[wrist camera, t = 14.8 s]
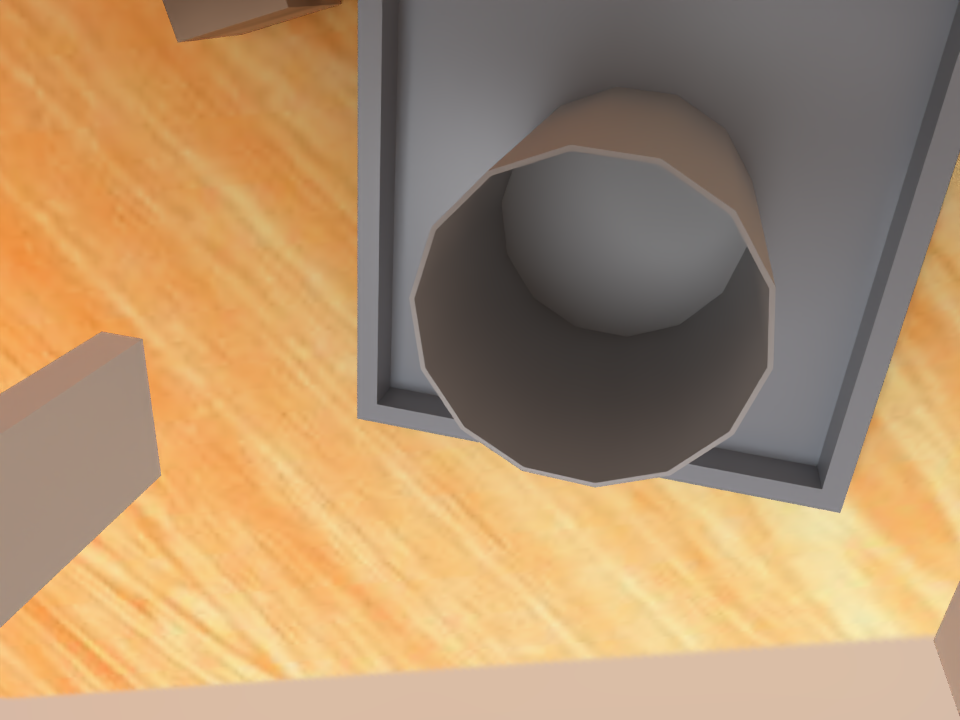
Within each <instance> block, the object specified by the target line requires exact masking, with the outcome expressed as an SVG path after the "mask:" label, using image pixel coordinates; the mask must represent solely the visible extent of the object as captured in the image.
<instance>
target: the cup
mask: <svg viewBox="0 0 960 720" xmlns="http://www.w3.org/2000/svg"><path fill="white" fill-rule="evenodd" d="M775 292H776V287H775V282H774V278H773V273H772V269H771V264H770V260H769V255H768V251H767V246H766V242H765V237H764V233H763V228H762V223H761V219H760V214H759V210H758V205H757V201H756V196H755V192H754V187H753V183H752V180H751V178H750V176H749V174H748V172H747V170H746V168H745V166H744V164H743V162H742V160H741V158H740V156H739V154H738V152H737V150H736V149H735V147H734V145H733V143H732V141H731V139H730V137H729V135H728V133H727V131H726V129H725V128H723V127H722V126H720V125H719V124H717V123H716V122H715V121H713V120H712V119H710V118H709V117H708V116H706V115H705V114H703V113H702V112H700V111H699V110H698V109H696V108H695V107H693V106H692V105H690V104H689V103H688V102H686V101H685V100H683V99H682V98H680V97H679V96H678V95H674V94H667V93H659V92H652V91H645V90H638V89H630V88H623V87H614V88H612V89H609V90H606V91H603V92H600V93H597V94H594V95H591V96H588V97H585V98H582V99H579V100H576V101H573V102H570V103H567V104H564V105H561V106H560V107H559V108H558V109H556V110H555V111H554V112H553V113H552V114H551V115H550V116H549V117H547V118H546V119H545V120H544V121H543V122H542V123H541V124H540V125H539V126H537V127H536V128H535V129H534V130H533V131H532V132H531V133H530V134H528V135H527V136H526V137H525V138H524V139H523V140H522V141H521V142H519V143H518V144H517V145H516V146H515V147H514V148H513V149H512V150H511V151H509V152H508V153H507V154H506V155H505V156H504V157H503V158H502V159H500V160H499V161H498V162H497V163H496V164H495V165H494V166H493V167H491V168H490V169H489V170H488V171H487V172H486V173H485V174H484V175H483V176H482V177H481V178H480V179H479V180H478V181H477V182H476V183H475V184H474V185H473V186H472V187H471V188H470V189H469V190H468V191H467V192H466V193H465V194H464V195H463V196H462V197H461V198H460V199H459V200H458V201H457V202H456V203H455V204H454V205H453V206H452V207H451V208H450V209H449V210H448V211H447V212H446V213H445V214H444V215H443V216H442V217H441V218H440V219H439V220H438V221H437V222H436V223H435V224H434V225H433V226H432V227H431V230H430V233H429V236H428V239H427V242H426V246H425V249H424V252H423V255H422V258H421V262H420V265H419V268H418V271H417V274H416V278H415V281H414V284H413V287H412V290H411V294H410V297H409V300H410V306H411V312H412V318H413V324H414V331H415V337H416V343H417V349H418V355H419V361H420V367H421V370H422V372H423V373H424V375H425V376H426V378H427V379H428V381H429V382H430V384H431V385H432V387H433V388H434V390H435V391H436V393H437V394H438V396H439V397H440V399H441V400H442V402H443V403H444V405H445V406H446V408H447V409H448V411H449V412H450V414H451V415H452V417H453V418H454V420H455V421H456V423H457V424H458V426H459V427H460V429H461V430H463V431H464V432H466V433H467V434H469V435H470V436H471V437H473V438H474V439H476V440H477V441H479V442H480V443H482V444H483V445H485V446H486V447H488V448H489V449H491V450H492V451H494V452H495V453H497V454H498V455H500V456H501V457H503V458H504V459H505V460H507V461H508V462H510V463H511V464H513V465H514V466H516V467H517V468H519V469H520V470H522V471H525V472H530V473H534V474H539V475H543V476H547V477H552V478H556V479H561V480H565V481H570V482H574V483H578V484H583V485H587V486H592V487H601V486H607V485H613V484H620V483H626V482H632V481H639V480H645V479H651V478H658V477H664V476H670V475H672V474H673V473H675V472H676V471H678V470H679V469H681V468H683V467H684V466H686V465H687V464H689V463H690V462H692V461H693V460H695V459H697V458H698V457H700V456H701V455H703V454H704V453H706V452H707V451H709V450H711V449H712V448H714V447H715V446H717V445H718V444H720V443H721V442H723V441H725V440H726V439H728V438H729V437H731V436H732V435H734V434H735V432H736V430H737V428H738V427H739V425H740V423H741V422H742V420H743V418H744V417H745V415H746V413H747V412H748V410H749V408H750V407H751V405H752V403H753V401H754V400H755V398H756V396H757V395H758V393H759V391H760V390H761V388H762V386H763V385H764V383H765V381H766V380H767V378H768V376H769V375H770V373H771V371H772V369H773V360H774V326H775Z"/></svg>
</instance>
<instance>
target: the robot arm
mask: <svg viewBox="0 0 960 720" xmlns="http://www.w3.org/2000/svg"><path fill="white" fill-rule="evenodd" d="M160 476H161V471H160V463H159V456H158V449H157V442H156V434H155V427H154V420H153V412H152V405H151V398H150V391H149V383H148V376H147V369H146V361H145V354H144V347H143V340H142V339H140V338H134V337H129V336H123V335H118V334H112V333H107V332H100V333H99V334H97V335H96V336H94V337H92V338H91V339H89V340H87V341H86V342H84V343H82V344H81V345H79V346H78V347H76V348H74V349H73V350H71V351H69V352H68V353H66V354H65V355H63V356H61V357H60V358H58V359H56V360H55V361H53V362H51V363H50V364H48V365H47V366H45V367H43V368H42V369H40V370H38V371H37V372H35V373H34V374H32V375H30V376H29V377H27V378H25V379H24V380H22V381H21V382H19V383H17V384H16V385H14V386H12V387H11V388H9V389H7V390H6V391H4V392H3V393H1V394H0V627H1V626H3V625H4V624H5V623H6V622H7V621H8V620H9V619H10V618H11V617H12V616H13V615H14V614H15V613H16V612H17V611H18V610H19V609H20V608H22V607H23V606H24V605H25V604H26V603H27V602H28V601H29V600H30V599H31V598H32V597H33V596H34V595H35V594H36V593H37V592H38V591H39V590H41V589H42V588H43V587H44V586H45V585H46V584H47V583H48V582H49V581H50V580H51V579H52V578H53V577H54V576H55V575H56V574H57V573H58V572H60V571H61V570H62V569H63V568H64V567H65V566H66V565H67V564H68V563H69V562H70V561H71V560H72V559H73V558H74V557H75V556H76V555H77V554H79V553H80V552H81V551H82V550H83V549H84V548H85V547H86V546H87V545H88V544H89V543H90V542H91V541H92V540H93V539H94V538H95V537H96V536H98V535H99V534H100V533H101V532H102V531H103V530H104V529H105V528H106V527H107V526H108V525H109V524H110V523H111V522H112V521H113V520H114V519H115V518H117V517H118V516H119V515H120V514H121V513H122V512H123V511H124V510H125V509H126V508H127V507H128V506H129V505H130V504H131V503H132V502H133V501H134V500H136V499H137V498H138V497H139V496H140V495H141V494H142V493H143V492H144V491H145V490H146V489H147V488H148V487H149V486H150V485H151V484H152V483H153V482H155V481H156V480H157V479H158V478H159V477H160ZM934 643H935V646H936V649H937V652H938V655H939V658H940V661H941V664H942V666H943V669H944V672H945V675H946V678H947V681H948V684H949V686H950V689H951V692H952V695H953V698H954V701H955V704H956V707H957V710H958V713H959V715H960V581H959V584H958V586H957V588H956V591H955V593H954V595H953V597H952V600H951V602H950V604H949V607H948V609H947V611H946V613H945V616H944V618H943V620H942V622H941V625H940V627H939V629H938V632H937V634H936V636H935V638H934Z"/></svg>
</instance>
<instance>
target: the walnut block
mask: <svg viewBox="0 0 960 720" xmlns="http://www.w3.org/2000/svg"><path fill="white" fill-rule="evenodd" d="M163 3H164V6H165V8H166V11H167V14H168V17H169V19H170V22H171V25H172V28H173V30H174V33H175V36H176V38H177V41H178V42H185V41H194V40H202V39H210V38H218V37H226V36H234V35H242V34H245V33H249V32H252V31H255V30H258V29H262V28H265V27H268V26H271V25H274V24H278V23H281V22H284V21H287V20H291V19H294V18H297V17H300V16H304V15H307V14H310V13H313V12H317V11H320V10H323V9H326V8H330V7H333V6H336V5H339V4H341V1H340V0H163Z"/></svg>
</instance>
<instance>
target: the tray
mask: <svg viewBox="0 0 960 720" xmlns="http://www.w3.org/2000/svg"><path fill="white" fill-rule="evenodd" d="M614 87H623V88H630V89H638V90H645V91H652V92H659V93H667V94H674V95H678V96H679V97H680V98H682V99H683V100H685V101H686V102H688V103H689V104H690V105H692V106H693V107H695V108H696V109H698V110H699V111H700V112H702V113H703V114H705V115H706V116H708V117H709V118H710V119H712V120H713V121H715V122H716V123H717V124H719V125H720V126H722V127H723V128H725V129H726V131H727V133H728V135H729V137H730V139H731V141H732V143H733V145H734V147H735V149H736V150H737V152H738V154H739V156H740V158H741V160H742V162H743V164H744V166H745V168H746V170H747V172H748V174H749V176H750V178H751V180H752V183H753V187H754V192H755V196H756V201H757V205H758V210H759V214H760V219H761V223H762V228H763V233H764V237H765V242H766V246H767V251H768V255H769V260H770V264H771V269H772V273H773V278H774V282H775V287H776V292H775V326H774V360H773V369H772V371H771V373H770V375H769V376H768V378H767V380H766V381H765V383H764V385H763V386H762V388H761V390H760V391H759V393H758V395H757V396H756V398H755V400H754V401H753V403H752V405H751V407H750V408H749V410H748V412H747V413H746V415H745V417H744V418H743V420H742V422H741V423H740V425H739V427H738V428H737V430H736V432H735V434H734V435H732V436H731V437H729V438H728V439H726V440H725V441H723V442H721V443H720V444H718V445H717V446H715V447H714V448H712V449H711V450H709V451H707V452H706V453H704V454H703V455H701V456H700V457H698V458H697V459H695V460H693V461H692V462H690V463H689V464H687V465H686V466H684V467H683V468H681V469H679V470H678V471H676V472H675V473H673V474H672V475H670V476H664V477H659V478H665V479H670V480H675V481H680V482H685V483H690V484H695V485H700V486H705V487H711V488H716V489H721V490H726V491H731V492H736V493H741V494H746V495H751V496H757V497H762V498H767V499H772V500H777V501H782V502H787V503H792V504H797V505H803V506H808V507H813V508H818V509H823V510H828V511H833V512H838V513H840V512H841V509H842V506H843V503H844V500H845V497H846V494H847V491H848V488H849V485H850V482H851V479H852V476H853V473H854V470H855V467H856V464H857V461H858V458H859V455H860V451H861V448H862V445H863V442H864V439H865V436H866V433H867V430H868V427H869V424H870V421H871V418H872V415H873V412H874V409H875V406H876V403H877V400H878V397H879V394H880V391H881V388H882V385H883V382H884V379H885V376H886V373H887V370H888V367H889V364H890V361H891V358H892V355H893V352H894V349H895V346H896V343H897V340H898V337H899V334H900V331H901V328H902V324H903V321H904V318H905V315H906V312H907V309H908V306H909V303H910V300H911V297H912V294H913V291H914V288H915V285H916V282H917V279H918V276H919V273H920V270H921V267H922V264H923V261H924V258H925V255H926V252H927V249H928V246H929V243H930V240H931V237H932V234H933V231H934V228H935V225H936V222H937V219H938V216H939V213H940V210H941V207H942V204H943V201H944V197H945V194H946V191H947V188H948V185H949V182H950V179H951V176H952V173H953V170H954V167H955V164H956V161H957V158H958V155H959V152H960V0H358V363H357V418H358V419H363V420H368V421H373V422H378V423H383V424H388V425H394V426H399V427H404V428H409V429H414V430H419V431H424V432H429V433H434V434H440V435H445V436H450V437H455V438H460V439H465V440H470V441H475V442H479V441H477V440H476V439H474V438H473V437H471V436H470V435H469V434H467V433H466V432H464V431H463V430H461V429H460V427H459V426H458V424H457V423H456V421H455V420H454V418H453V417H452V415H451V414H450V412H449V411H448V409H447V408H446V406H445V405H444V403H443V402H442V400H441V399H440V397H439V396H438V394H437V393H436V391H435V390H434V388H433V387H432V385H431V384H430V382H429V381H428V379H427V378H426V376H425V375H424V373H423V372H422V370H421V367H420V361H419V355H418V349H417V343H416V337H415V331H414V324H413V318H412V312H411V306H410V300H409V297H410V294H411V290H412V287H413V284H414V281H415V278H416V274H417V271H418V268H419V265H420V262H421V258H422V255H423V252H424V249H425V246H426V242H427V239H428V236H429V233H430V230H431V227H432V226H433V225H434V224H435V223H436V222H437V221H438V220H439V219H440V218H441V217H442V216H443V215H444V214H445V213H446V212H447V211H448V210H449V209H450V208H451V207H452V206H453V205H454V204H455V203H456V202H457V201H458V200H459V199H460V198H461V197H462V196H463V195H464V194H465V193H466V192H467V191H468V190H469V189H470V188H471V187H472V186H473V185H474V184H475V183H476V182H477V181H478V180H479V179H480V178H481V177H482V176H483V175H484V174H485V173H486V172H487V171H488V170H489V169H490V168H491V167H493V166H494V165H495V164H496V163H497V162H498V161H499V160H500V159H502V158H503V157H504V156H505V155H506V154H507V153H508V152H509V151H511V150H512V149H513V148H514V147H515V146H516V145H517V144H518V143H519V142H521V141H522V140H523V139H524V138H525V137H526V136H527V135H528V134H530V133H531V132H532V131H533V130H534V129H535V128H536V127H537V126H539V125H540V124H541V123H542V122H543V121H544V120H545V119H546V118H547V117H549V116H550V115H551V114H552V113H553V112H554V111H555V110H556V109H558V108H559V107H560V106H561V105H564V104H567V103H570V102H573V101H576V100H579V99H582V98H585V97H588V96H591V95H594V94H597V93H600V92H603V91H606V90H609V89H612V88H614Z"/></svg>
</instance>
